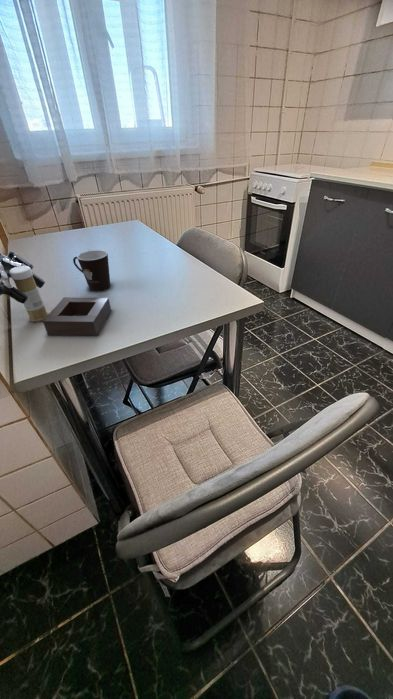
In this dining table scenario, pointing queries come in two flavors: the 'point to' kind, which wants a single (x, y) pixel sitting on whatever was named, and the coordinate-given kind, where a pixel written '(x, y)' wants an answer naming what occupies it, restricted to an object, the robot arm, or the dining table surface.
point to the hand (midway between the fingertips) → (34, 292)
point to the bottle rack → (77, 317)
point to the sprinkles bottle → (29, 292)
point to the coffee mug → (95, 269)
